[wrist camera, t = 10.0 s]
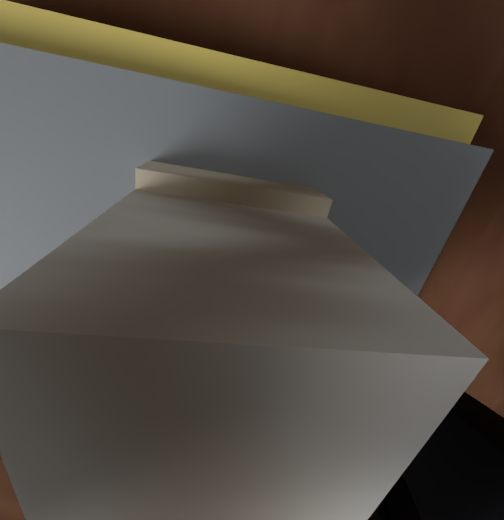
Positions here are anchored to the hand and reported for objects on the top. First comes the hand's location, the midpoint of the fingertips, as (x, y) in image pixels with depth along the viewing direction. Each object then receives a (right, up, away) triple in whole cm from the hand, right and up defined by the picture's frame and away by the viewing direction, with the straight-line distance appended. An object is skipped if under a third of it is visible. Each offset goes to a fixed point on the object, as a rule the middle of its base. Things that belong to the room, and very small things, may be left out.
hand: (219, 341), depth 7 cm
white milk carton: (0, +1, +3) cm, 3 cm away
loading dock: (-1, +3, +5) cm, 6 cm away
